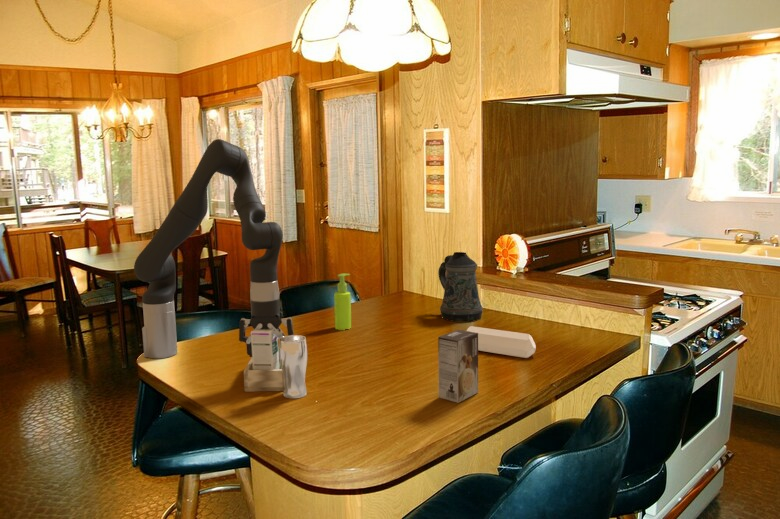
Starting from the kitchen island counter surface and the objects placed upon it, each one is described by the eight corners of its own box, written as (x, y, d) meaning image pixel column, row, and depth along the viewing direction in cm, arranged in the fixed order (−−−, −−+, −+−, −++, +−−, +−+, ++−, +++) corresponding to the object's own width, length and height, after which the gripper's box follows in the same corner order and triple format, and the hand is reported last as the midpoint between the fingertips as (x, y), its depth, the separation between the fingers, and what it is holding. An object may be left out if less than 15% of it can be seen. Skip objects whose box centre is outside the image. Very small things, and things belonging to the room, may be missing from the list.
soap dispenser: (356, 326, 222) (355, 273, 219) (344, 331, 217) (343, 276, 214) (343, 324, 226) (342, 271, 223) (332, 328, 220) (330, 274, 217)
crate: (244, 391, 159) (243, 371, 158) (257, 366, 179) (256, 349, 178) (286, 390, 159) (285, 370, 158) (294, 365, 179) (294, 348, 178)
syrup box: (274, 383, 161) (271, 330, 159) (252, 382, 162) (250, 330, 160) (281, 376, 167) (278, 325, 165) (260, 375, 168) (258, 324, 165)
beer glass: (296, 401, 152) (294, 343, 149) (275, 396, 155) (273, 339, 153) (314, 392, 158) (312, 336, 155) (293, 387, 161) (291, 333, 159)
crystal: (541, 340, 189) (470, 330, 201) (535, 334, 183) (462, 324, 195) (537, 363, 187) (465, 352, 199) (530, 358, 181) (457, 346, 193)
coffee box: (458, 387, 160) (458, 328, 158) (478, 393, 156) (479, 332, 153) (437, 397, 153) (437, 336, 151) (458, 403, 149) (458, 340, 147)
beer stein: (475, 323, 225) (475, 257, 221) (426, 318, 233) (426, 254, 229) (487, 313, 239) (488, 251, 236) (441, 309, 248) (441, 249, 244)
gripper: (235, 300, 157) (238, 361, 159) (290, 299, 157) (292, 359, 160) (240, 294, 164) (243, 352, 167) (293, 293, 165) (295, 351, 167)
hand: (267, 355), depth 163 cm, fingers open, 8 cm apart
